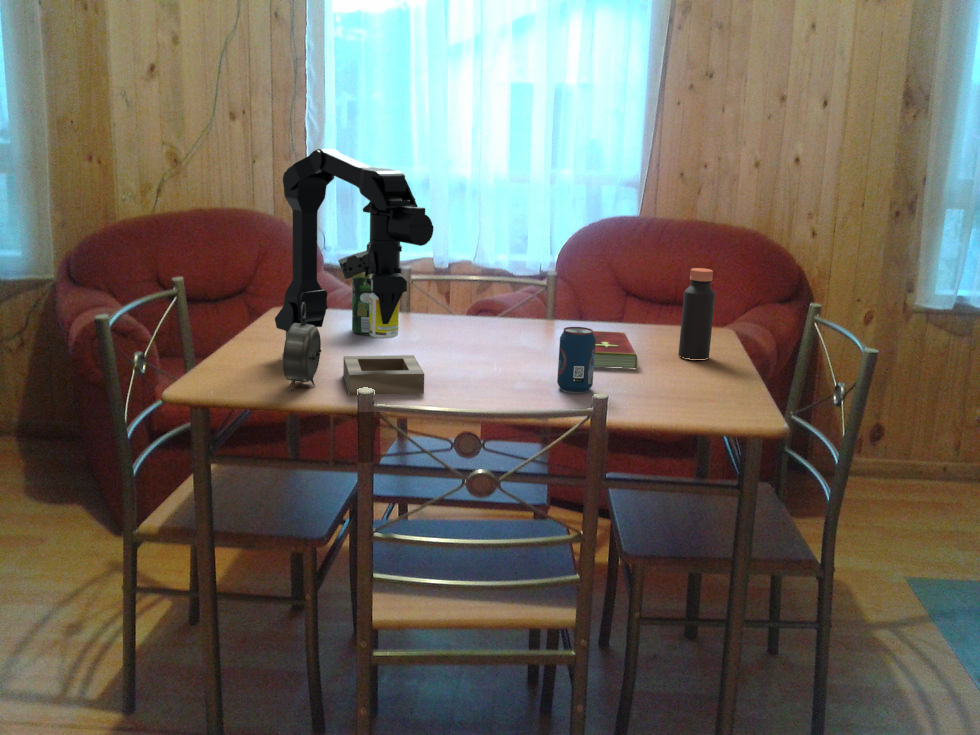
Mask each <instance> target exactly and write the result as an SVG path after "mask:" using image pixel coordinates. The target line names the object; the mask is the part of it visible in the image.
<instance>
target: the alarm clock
mask: <svg viewBox="0 0 980 735" xmlns="http://www.w3.org/2000/svg"><path fill="white" fill-rule="evenodd" d="M303 304H304V308H305V314H304V316H303V315H302V310H303ZM301 320H302V321H301V324H300V323H294V324H292V325H291V327H290V329H289V331H288V333H287V336H286V335H285V341H284V346H283V354H282V369H283V374H284V377H285V379H286V381H291V387H290V388H289V390H290V392H293V391H294V387H295V385H296V383H297V382H302V383H308V382H311V384H312V385H313V386H314V387H315V386H316V383H315V381H314V377H315V376H316V373H317V371H318V368H319V367H318V366H319V365H320V364H319V363H320V359H321V353H322V349H321V348H322V346H321V344H322V343H321V340H322V339H321V334H320V331H319V329H318V327H315V326H314V325H308V324H306V321H305V320H306V304H305V302H303V303H302V305H301Z"/></svg>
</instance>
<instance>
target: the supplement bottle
mask: <svg viewBox="0 0 980 735" xmlns="http://www.w3.org/2000/svg"><path fill="white" fill-rule="evenodd" d="M369 299H370V301H369V334H370V335H369V336H371V337H373V338H376V339H392V338H396V337H398V334H399V313H400V312H399V311H400V307H399V306H400V301H399V302H398V304H397V306H396V308H395V310H394V312H393V315H392V317H391V319H390V321H389V323H388V324H383V323H382V318H381V312H380V306H379V300H378V297H377V296H376V295H375V294H374V293H373V292H372V293H371V294H370V298H369Z"/></svg>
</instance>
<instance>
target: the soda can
mask: <svg viewBox="0 0 980 735" xmlns="http://www.w3.org/2000/svg"><path fill="white" fill-rule="evenodd" d="M593 331H594V330H593V329H592V328H589V327H585V326H568V327H567V326H566V327H564V328H563V332H562V333H561V334H560V337H559V347H558V348H559V349H558V365H557V379H556V380H557V381H556V382H557V386H558V387H559V389H560V390H561V391H562V392H564V393H569V394H587V393H588V392H589V391H590V390H591V388H592V386H593V384H594V371H595V370H594V369H595V368H594V358H595V343H596V339H595V337H594V334H593Z"/></svg>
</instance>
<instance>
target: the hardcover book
mask: <svg viewBox="0 0 980 735" xmlns="http://www.w3.org/2000/svg"><path fill="white" fill-rule="evenodd" d="M593 334H594V337H595V339H596V343H595V358H594V367H622V368H636V369H637V368H638V355H637V354H636V352H635V350H634V348H633V345H632V344H631V342H630V340H629V338H628V336H627V334H626V333H625V331H611V330H610V331H609V330H608V331H605V330H603V331H602V330H593Z"/></svg>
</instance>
